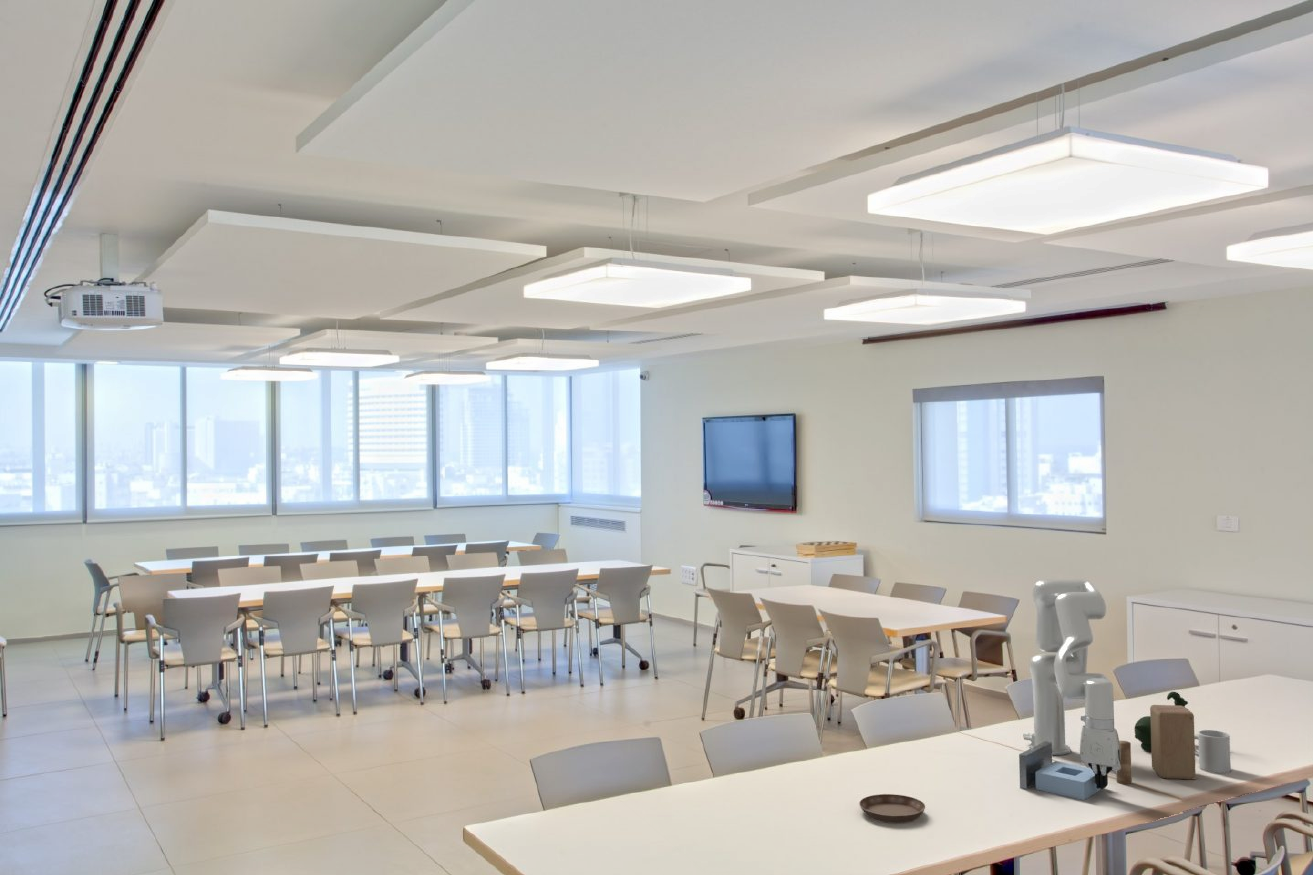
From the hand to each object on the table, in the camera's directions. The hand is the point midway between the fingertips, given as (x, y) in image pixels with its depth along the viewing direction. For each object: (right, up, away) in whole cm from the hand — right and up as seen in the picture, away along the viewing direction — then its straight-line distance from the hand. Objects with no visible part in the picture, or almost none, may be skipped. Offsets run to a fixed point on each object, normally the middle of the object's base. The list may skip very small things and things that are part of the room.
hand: (1101, 787), depth 284 cm
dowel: (+12, -3, +11) cm, 16 cm away
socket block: (-6, -3, +6) cm, 9 cm away
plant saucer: (-63, -4, -11) cm, 64 cm away
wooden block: (+30, -3, +18) cm, 35 cm away
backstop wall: (-13, -3, +13) cm, 19 cm away
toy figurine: (+40, -3, +45) cm, 60 cm away
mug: (+44, -3, +24) cm, 50 cm away
